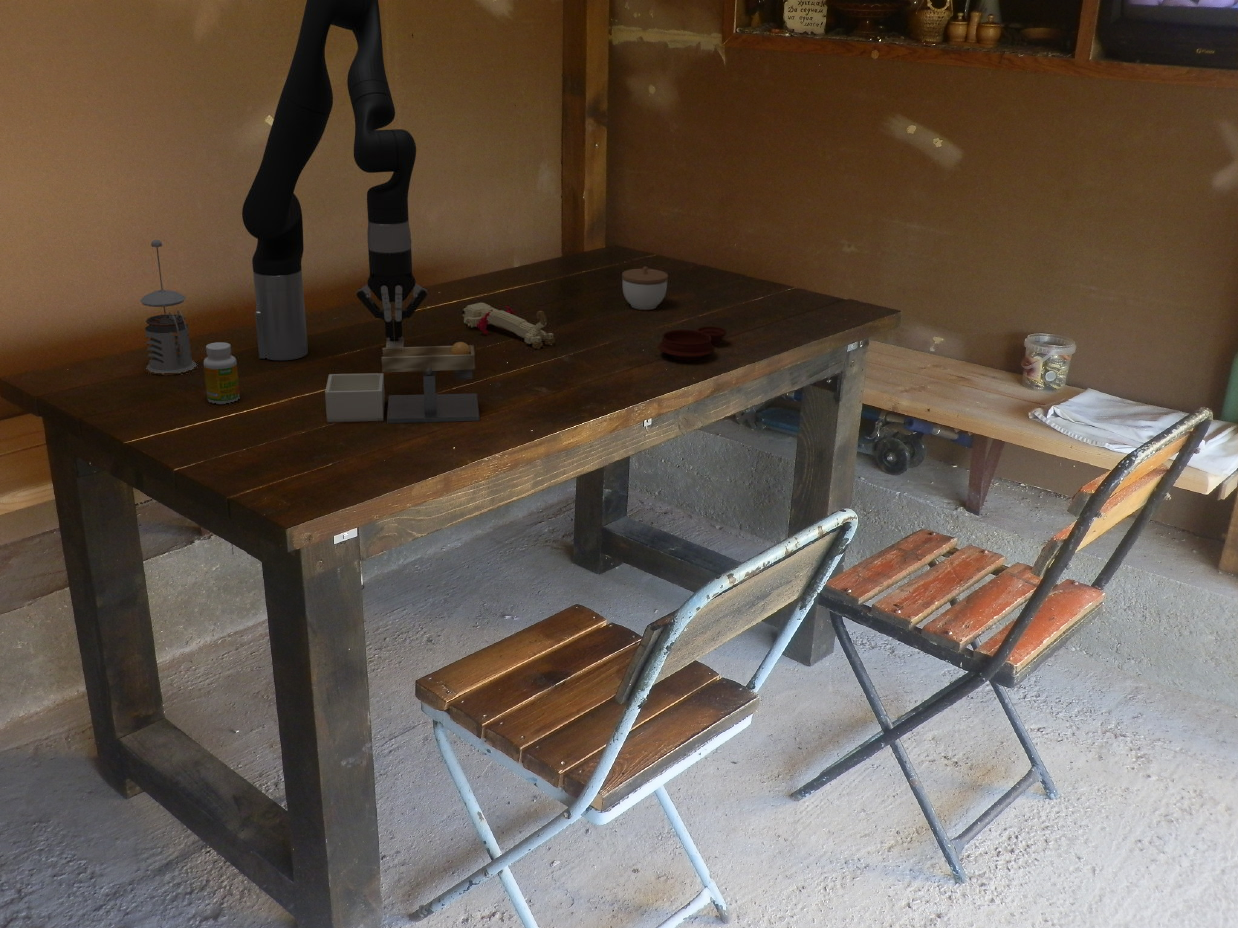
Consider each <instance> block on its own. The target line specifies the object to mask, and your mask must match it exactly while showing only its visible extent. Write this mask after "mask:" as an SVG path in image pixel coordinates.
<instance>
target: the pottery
mask: <svg viewBox="0 0 1238 928" xmlns="http://www.w3.org/2000/svg"><path fill="white" fill-rule="evenodd" d="M727 332H728V331H727V330H726V329H725V328H723V327H718V326H702V327H699V328H697V329H696V330H693V329H673V330H669V331H666V332H664V333H663V334H662V338H661V339H662V340H661V342H659V344H658V345H657V349H658V350H659V351H660V352H663V353H665V354H667V355H670V356H671V357H672V358H673V359H674V358H675V359H674V360H677V361H682V360H684V361H683V362H685V361H686V362H690V361H689V360H693V361H697V360H699V359H701V357H703V356H704V357H705V356H708V355H711V354H712V353H715V349H716V348H715V346H718V345H719V343H718V342H720V341H722V340H723V339H724V337H725V336H726V334H727Z"/></svg>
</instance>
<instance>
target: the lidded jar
mask: <svg viewBox="0 0 1238 928" xmlns="http://www.w3.org/2000/svg"><path fill="white" fill-rule="evenodd" d="M621 279H622V292H623V296H624V298H625V300H626V301H627V303H628V304H630V307H631V308H633V309H636V310H643V311H649V310H654V309H656V308H658V307H657V306H659V305H660V304H661V303H662V301H663V300H664V298H665V297H666V294H667V293H666V292H667V290H668V289H667V287H668V279H669V275H668V273H666V272H665V271H662V270H658V269H653V268H649V267H648V266H643V267H642V268H632V269H627V270H625V271H623V272H622V274H621Z"/></svg>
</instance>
